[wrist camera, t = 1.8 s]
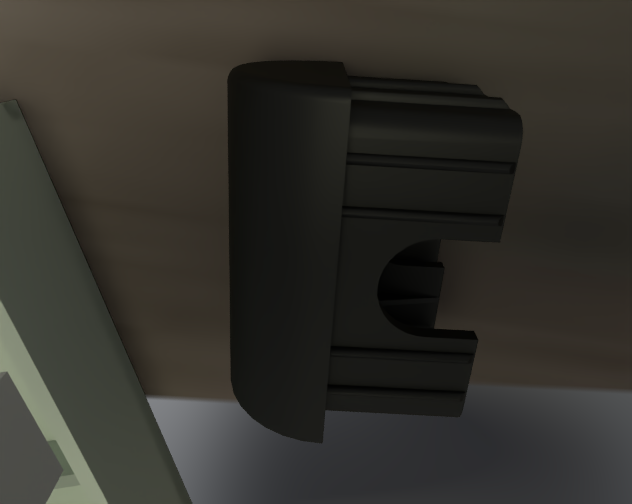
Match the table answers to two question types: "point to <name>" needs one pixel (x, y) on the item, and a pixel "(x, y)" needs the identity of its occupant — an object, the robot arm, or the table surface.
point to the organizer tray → (70, 345)
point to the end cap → (354, 237)
